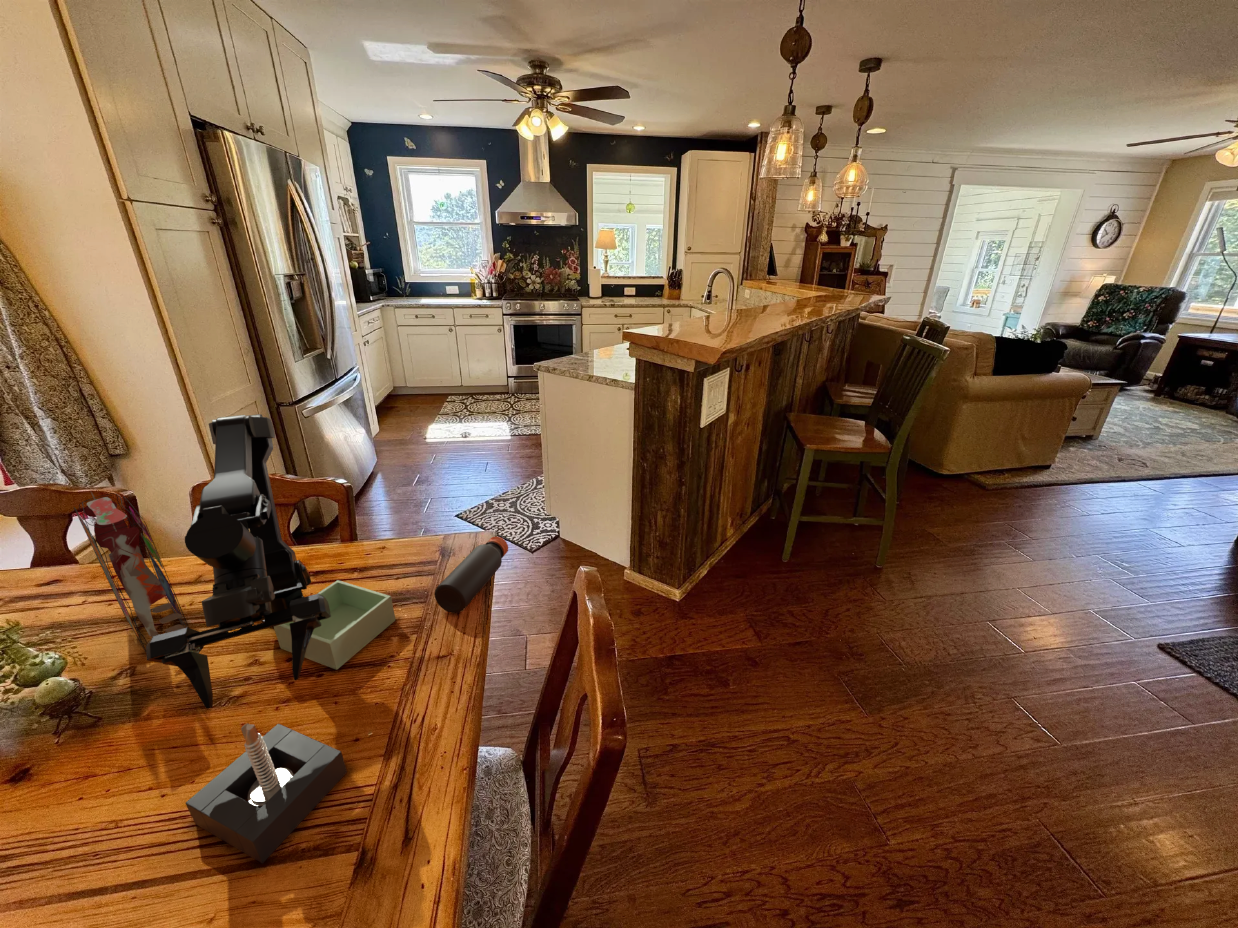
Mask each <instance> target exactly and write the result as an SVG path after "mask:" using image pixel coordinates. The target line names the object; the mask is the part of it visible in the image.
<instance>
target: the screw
mask: <svg viewBox="0 0 1238 928" xmlns="http://www.w3.org/2000/svg"><path fill="white" fill-rule="evenodd" d="M240 730H241V733H242V735H243V738H244V740H245V742H244V745H243V746H244V749H245V751H247V754H248V757H249V758H250V759H249V760H250V761H251V764H252V767H253V768H254V769H253V770H254V771H255V774H256V777H257V780H256V781H255V782H254V784H253V785H252V786H251V788H250V790H249V792H248V799H247V802H249V803H251V804H253V805H255V806H257V807H258V808H261V807H262V806H263V805H264V804H265V803H266V802H267V801H268V800H269V799H270V798H271V797H272V796H273V795H274V794H275V793H276V792H277V791H278V790H279V789H280V788H281V787H282V786H284V785H285V784H286V783H287V782H288V781H289V780H290V779H291V778H292V777H293V776H294V775H295V774H293V772H292V771H291V770H290V769H288V768H277V769H275V768H274V765H273V763H272V760H271V757H270V755H269V752H268V750H267V747H266V744H265V741H264V740H263V736H262V734H261V733H259V732H258V730H257V728H256V725H255V724H254V723H253V724H252V723H251V724H250V723H249V722H247V723H245V724H244V725H242V727H240Z"/></svg>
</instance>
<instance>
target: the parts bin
mask: <svg viewBox="0 0 1238 928" xmlns="http://www.w3.org/2000/svg"><path fill="white" fill-rule="evenodd" d="M316 594H320V595H322V596H324V597H325V598H326V600H327V601H328V603H329V608H330V614H331V617H329V618H327V619H324V620H320V622H321V626H320V627H317V628H315V629H314V630H313V633H312V635H311V638H310V641H309V643H308V646H307V649H306V653H305V657H304V659H307V660H310V661H312V662H315V663H318V664H319V665H320V664H321V665H323V666H325V667H328V668H331V669H333V670H339V669H340V668H341V667H342V666H343V665H344V664H345V663H348V661H350V660H351V659H352V658H353V657H354V656H355V655H356V654H357V653H359V652H360V651H361V650H362V649H363V648H364V647H366V646H367V645H368V644H370V642H372V641H373V640H374V639H375V638H376V637H378V635H380V634H381V633H383V632H384V631H385V630H386V629H387V628H389V626H390V625H392V624H393V623H394V622H395V621H396V619H397V618H396V614H395V610H394V605H393V599H392V596H391V595H389V594H385V593H381V592H379V591H375V590H373V589H369V588H365V587H363V586H359V585H355V584H352V583H349V582H345V581H342V580H339V579H337V580H336V581H334V582H332V583H331V584H329V585H328V586H326V587H325V588H323V589H322V590H320V591H319V592H317V593H316ZM290 623H294V622H293V621H292V622H288V623H285V624H281V625H278V626H274V627H273V630H274V633H275V635H276V639H277V642H278V645H279V648H280V650H284V651H286V652H289V653H291V654H292V638H291V631H290Z"/></svg>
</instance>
